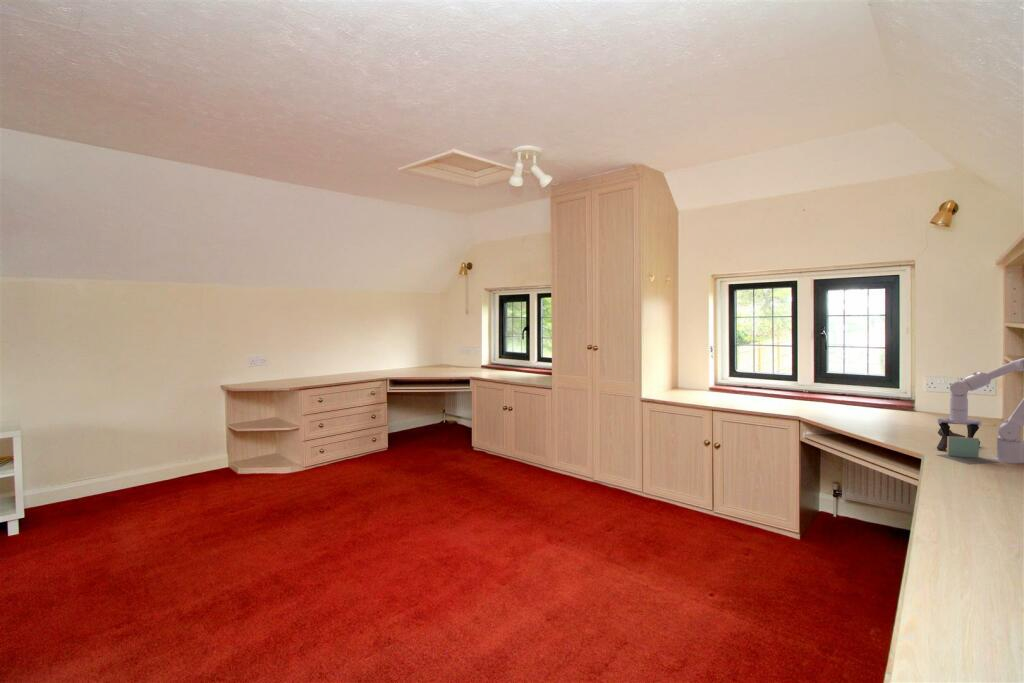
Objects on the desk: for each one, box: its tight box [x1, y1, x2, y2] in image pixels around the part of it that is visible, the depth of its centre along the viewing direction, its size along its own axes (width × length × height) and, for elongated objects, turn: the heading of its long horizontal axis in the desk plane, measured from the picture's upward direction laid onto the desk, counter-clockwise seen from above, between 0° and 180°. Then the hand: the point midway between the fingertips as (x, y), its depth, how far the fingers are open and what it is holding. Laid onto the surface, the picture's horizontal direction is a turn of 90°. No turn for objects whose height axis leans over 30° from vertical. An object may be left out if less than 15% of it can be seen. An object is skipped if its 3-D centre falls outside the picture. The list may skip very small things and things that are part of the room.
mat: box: [936, 453, 1001, 465], centre depth 209 cm, size 14×14×1 cm
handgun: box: [936, 427, 981, 452], centre depth 226 cm, size 4×24×10 cm, turn 108°
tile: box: [946, 436, 980, 458], centre depth 212 cm, size 2×10×8 cm, turn 67°
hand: (958, 441), depth 216 cm, fingers open, 7 cm apart
